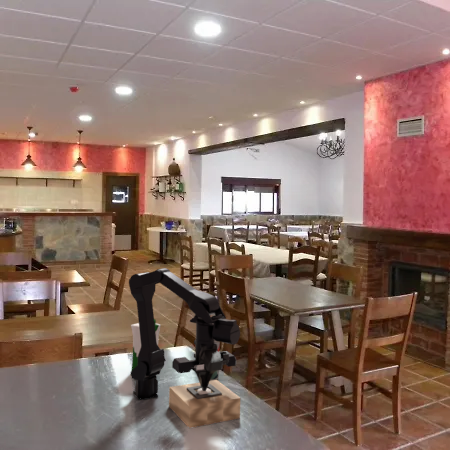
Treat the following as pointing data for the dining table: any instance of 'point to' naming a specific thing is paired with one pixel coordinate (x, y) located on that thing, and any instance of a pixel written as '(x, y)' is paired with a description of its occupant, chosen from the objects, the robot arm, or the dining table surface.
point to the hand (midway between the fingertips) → (204, 390)
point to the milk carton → (138, 341)
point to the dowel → (203, 391)
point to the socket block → (204, 404)
